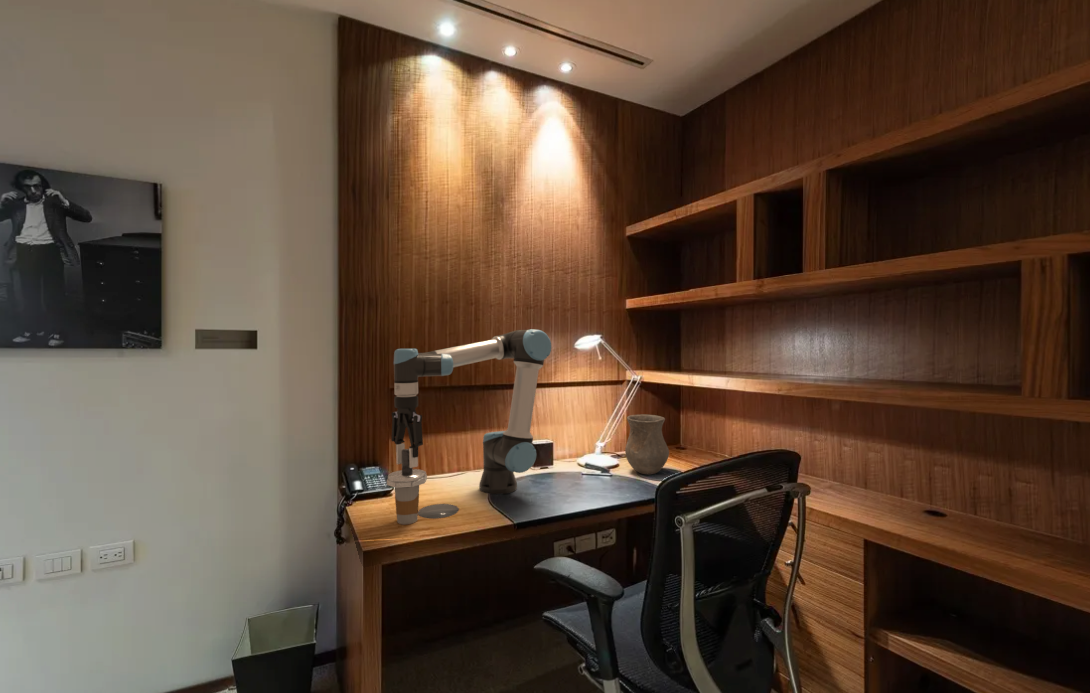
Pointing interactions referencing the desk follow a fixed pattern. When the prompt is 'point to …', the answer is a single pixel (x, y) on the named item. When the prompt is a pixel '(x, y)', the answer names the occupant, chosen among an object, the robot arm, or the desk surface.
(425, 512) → the disc
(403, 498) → the coffee cup
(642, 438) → the vase
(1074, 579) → the desk surface
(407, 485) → the lid
